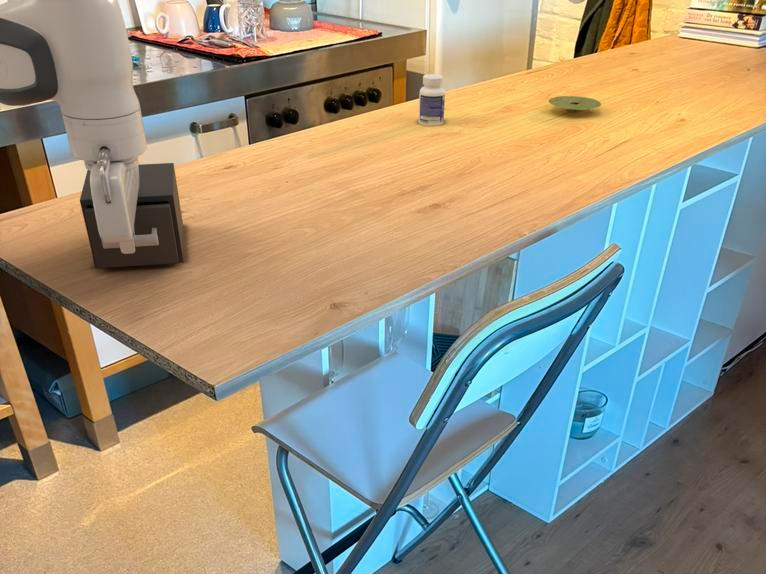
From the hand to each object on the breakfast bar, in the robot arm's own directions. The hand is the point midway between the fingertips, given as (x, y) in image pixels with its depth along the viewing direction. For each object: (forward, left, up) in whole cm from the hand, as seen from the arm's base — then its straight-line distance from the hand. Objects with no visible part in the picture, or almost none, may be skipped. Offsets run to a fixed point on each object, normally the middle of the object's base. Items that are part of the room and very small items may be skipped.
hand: (129, 249), depth 105 cm
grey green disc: (+90, +74, -6) cm, 117 cm away
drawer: (0, +10, -5) cm, 11 cm away
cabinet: (0, +14, -6) cm, 15 cm away
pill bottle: (+57, +70, -6) cm, 91 cm away
